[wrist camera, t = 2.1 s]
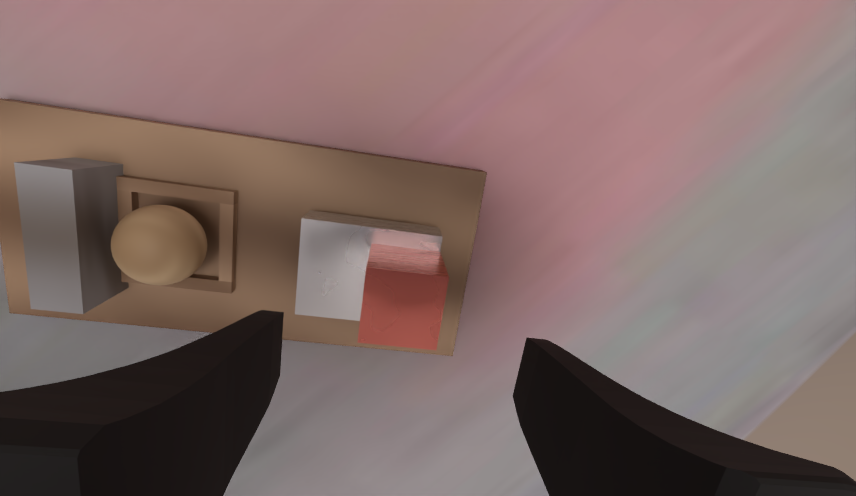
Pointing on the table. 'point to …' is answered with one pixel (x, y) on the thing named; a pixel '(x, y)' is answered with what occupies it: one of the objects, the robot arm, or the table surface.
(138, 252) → the walnut
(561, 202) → the table surface
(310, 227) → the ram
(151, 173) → the wooden puzzle board
